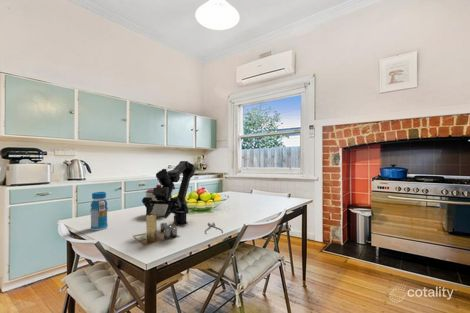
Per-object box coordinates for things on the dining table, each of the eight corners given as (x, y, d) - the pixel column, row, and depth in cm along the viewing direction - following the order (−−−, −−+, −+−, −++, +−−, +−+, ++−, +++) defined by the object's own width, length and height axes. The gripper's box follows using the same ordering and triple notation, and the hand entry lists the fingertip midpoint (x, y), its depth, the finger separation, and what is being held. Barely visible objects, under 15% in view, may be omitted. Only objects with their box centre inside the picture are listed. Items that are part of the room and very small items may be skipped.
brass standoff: (154, 239, 110) (154, 213, 110) (158, 241, 106) (158, 215, 106) (145, 241, 107) (145, 215, 107) (148, 243, 103) (148, 216, 103)
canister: (176, 212, 167) (176, 183, 167) (166, 218, 149) (166, 186, 149) (152, 211, 169) (152, 182, 169) (139, 218, 151) (139, 185, 151)
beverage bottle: (87, 231, 125) (87, 194, 125) (94, 226, 134) (93, 191, 134) (104, 230, 127) (104, 193, 127) (109, 225, 135) (109, 191, 135)
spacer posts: (164, 229, 125) (164, 221, 125) (178, 236, 112) (178, 228, 112) (147, 232, 119) (147, 224, 119) (160, 241, 107) (160, 232, 107)
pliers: (206, 234, 118) (197, 223, 136) (206, 236, 118) (197, 225, 136) (224, 231, 121) (213, 222, 140) (224, 233, 121) (213, 223, 140)
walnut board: (166, 230, 126) (166, 228, 126) (180, 238, 113) (180, 236, 113) (132, 237, 114) (132, 235, 114) (143, 247, 101) (143, 245, 101)
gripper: (143, 181, 117) (130, 207, 106) (178, 181, 114) (168, 208, 103) (151, 194, 125) (140, 220, 114) (184, 195, 122) (176, 221, 111)
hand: (155, 217), depth 110 cm, fingers open, 9 cm apart
